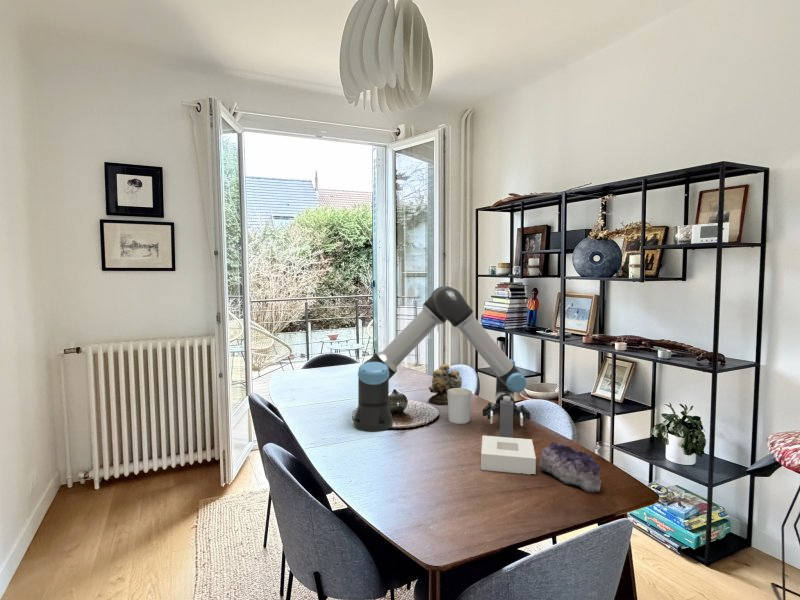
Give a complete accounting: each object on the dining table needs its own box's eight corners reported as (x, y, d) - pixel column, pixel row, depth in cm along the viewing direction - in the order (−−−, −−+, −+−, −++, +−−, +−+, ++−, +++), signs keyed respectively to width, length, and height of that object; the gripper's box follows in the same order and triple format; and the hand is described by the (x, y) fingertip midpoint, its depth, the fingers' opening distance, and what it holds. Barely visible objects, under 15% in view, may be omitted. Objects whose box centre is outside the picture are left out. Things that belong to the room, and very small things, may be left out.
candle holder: (470, 425, 186) (471, 395, 185) (445, 423, 188) (445, 393, 187) (472, 417, 195) (472, 388, 194) (447, 415, 197) (448, 387, 196)
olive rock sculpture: (435, 407, 209) (436, 368, 208) (422, 400, 219) (422, 363, 218) (469, 402, 217) (470, 365, 216) (454, 396, 228) (455, 360, 226)
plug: (499, 439, 171) (500, 398, 170) (499, 434, 176) (500, 394, 175) (512, 440, 171) (513, 398, 169) (511, 435, 175) (513, 395, 174)
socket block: (480, 469, 145) (481, 453, 145) (482, 449, 161) (482, 435, 161) (535, 474, 142) (535, 458, 142) (531, 454, 158) (531, 439, 158)
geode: (615, 488, 135) (615, 455, 133) (587, 502, 130) (586, 468, 128) (559, 459, 153) (559, 430, 151) (533, 471, 147) (531, 440, 146)
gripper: (534, 414, 188) (539, 433, 166) (476, 410, 193) (474, 428, 171) (534, 395, 188) (539, 412, 166) (477, 392, 192) (474, 408, 170)
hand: (506, 420), depth 168 cm, fingers open, 10 cm apart
